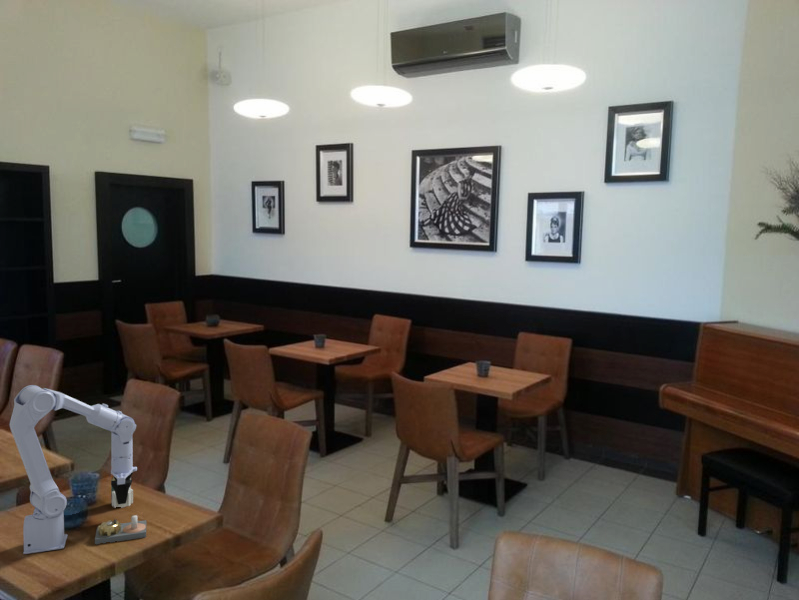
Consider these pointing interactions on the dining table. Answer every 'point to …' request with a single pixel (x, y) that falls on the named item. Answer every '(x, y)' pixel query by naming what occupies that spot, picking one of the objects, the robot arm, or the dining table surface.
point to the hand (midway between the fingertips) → (122, 499)
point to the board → (125, 532)
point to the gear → (109, 528)
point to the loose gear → (128, 502)
